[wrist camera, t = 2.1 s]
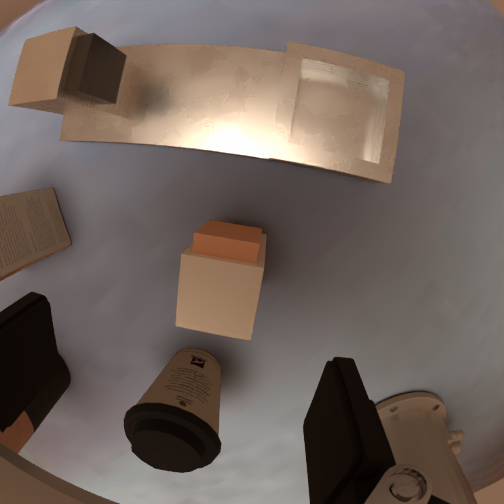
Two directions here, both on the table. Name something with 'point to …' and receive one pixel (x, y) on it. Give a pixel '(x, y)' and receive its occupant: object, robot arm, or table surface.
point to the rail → (219, 100)
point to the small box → (29, 229)
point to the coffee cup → (179, 415)
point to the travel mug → (36, 411)
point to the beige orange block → (221, 279)
